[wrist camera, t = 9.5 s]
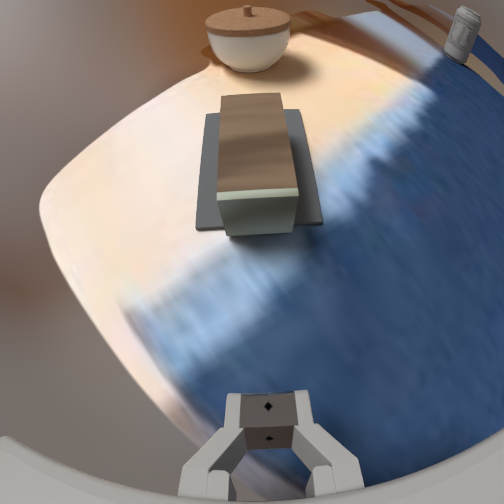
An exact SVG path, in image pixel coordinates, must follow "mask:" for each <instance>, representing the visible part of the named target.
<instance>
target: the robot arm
mask: <svg viewBox="0 0 504 504" xmlns="http://www.w3.org/2000/svg"><path fill="white" fill-rule="evenodd" d="M269 447H270V449H281V448H292V450H293V451H294V452H295V454H296V455H297V456H298V457H299V458H300V459H301V461H302V462H303V463H304V464H305V465H306V466H307V468H308V469H309V470H310V471H311V472H312V473H311V475H310V478H309V481H308V483H307V486H306V489H305V492H306V498H304V499H294V500H282V501H260V502H259V501H258V502H242V501H241V502H240V501H236V490H235V488H234V485H233V483H232V480H231V477H230V474H231V473H232V472H233V470H234V469H235V468H236V466H237V465H238V464H239V462H240V461H241V460H242V458H243V457H244V455H245V454H246V453H247V450H258V449H269ZM0 504H504V428H503V429H501V430H499V431H498V432H496V433H495V434H493V435H491V436H490V437H488V438H486V439H485V440H483V441H481V442H479V443H478V444H476V445H474V446H472V447H470V448H468V449H467V450H465V451H463V452H461V453H459V454H457V455H455V456H452V457H450V458H448V459H446V460H444V461H442V462H439V463H437V464H435V465H432V466H430V467H427V468H425V469H422V470H420V471H417V472H414V473H412V474H409V475H406V476H403V477H400V478H397V479H394V480H391V481H387V482H384V483H381V484H377V485H373V486H369V487H364V483H363V478H362V474H361V470H360V466H359V462H358V458H356V457H355V456H354V455H353V454H352V453H351V452H349V451H348V450H347V449H346V448H345V447H344V446H342V445H341V444H340V443H339V442H338V441H337V440H336V439H334V438H333V437H332V436H331V435H330V434H329V433H328V432H327V431H326V430H324V429H323V428H322V427H321V426H320V425H319V424H318V423H317V424H314V421H313V416H312V410H311V404H310V399H309V393H308V391H307V390H300V391H284V392H271V393H228V395H227V402H226V412H225V423H224V428H220V429H219V430H218V431H217V432H216V433H215V434H214V435H213V436H212V437H211V438H210V439H209V440H208V441H207V442H206V443H205V445H204V446H203V447H202V448H201V449H200V450H199V451H198V452H197V453H196V454H195V455H194V456H193V457H192V458H191V459H190V460H189V461H188V462H187V463H186V464H185V465H184V466H183V468H182V473H181V479H180V485H179V491H178V496H173V495H167V494H161V493H155V492H151V491H146V490H142V489H138V488H133V487H129V486H125V485H122V484H118V483H115V482H112V481H108V480H105V479H102V478H99V477H96V476H93V475H90V474H87V473H85V472H82V471H79V470H77V469H74V468H72V467H69V466H67V465H64V464H62V463H60V462H57V461H55V460H53V459H51V458H49V457H47V456H45V455H42V454H40V453H38V452H37V451H35V450H32V449H31V448H29V447H27V446H25V445H23V444H22V443H20V442H18V441H16V440H15V439H13V438H11V437H9V436H3V437H0Z"/></svg>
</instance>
